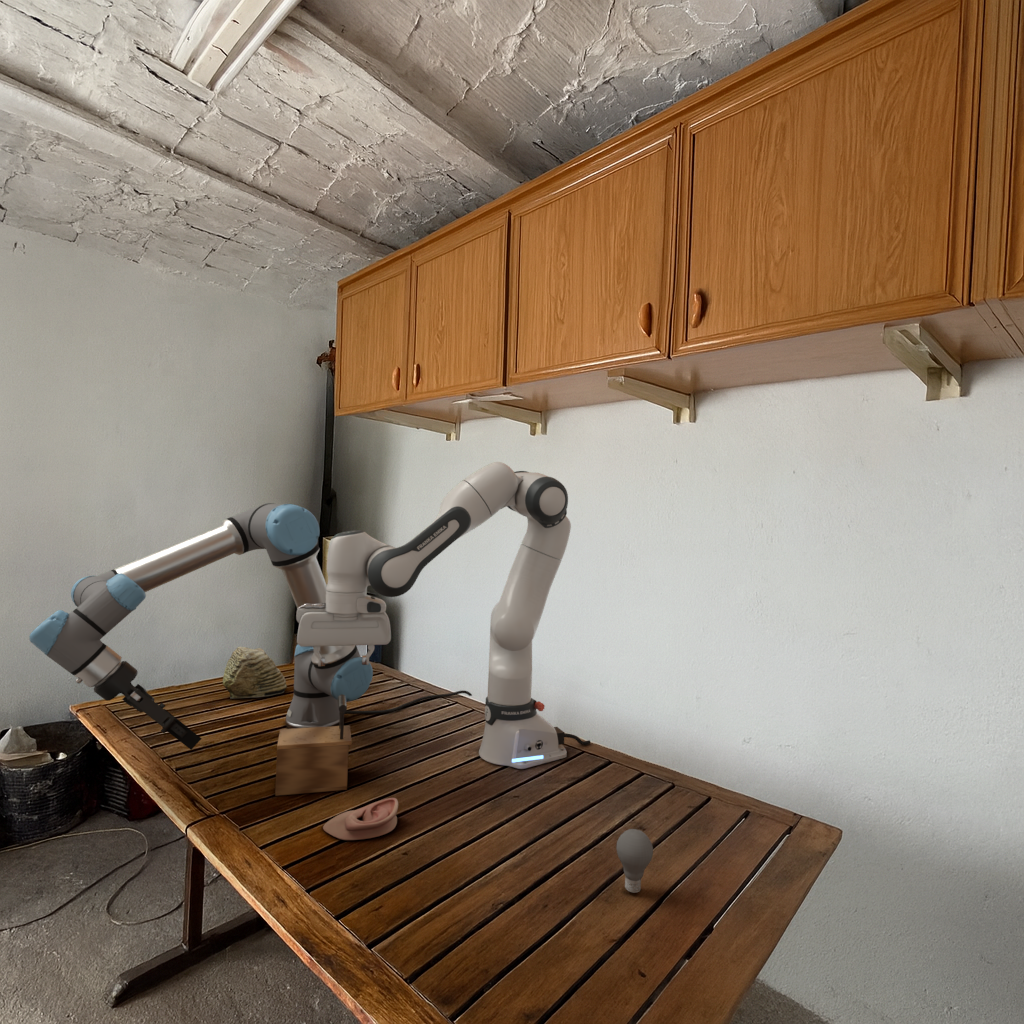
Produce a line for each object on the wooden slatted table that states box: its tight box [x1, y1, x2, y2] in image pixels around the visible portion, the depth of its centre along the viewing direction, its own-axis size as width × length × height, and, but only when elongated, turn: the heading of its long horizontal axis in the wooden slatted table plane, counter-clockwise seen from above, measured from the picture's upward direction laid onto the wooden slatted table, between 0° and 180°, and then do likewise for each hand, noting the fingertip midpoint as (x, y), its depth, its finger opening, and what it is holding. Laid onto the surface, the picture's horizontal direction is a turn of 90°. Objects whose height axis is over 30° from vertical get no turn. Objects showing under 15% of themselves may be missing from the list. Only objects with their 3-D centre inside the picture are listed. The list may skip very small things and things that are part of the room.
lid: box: [276, 694, 352, 750], centre depth 140 cm, size 15×10×8 cm, turn 107°
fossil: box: [222, 646, 288, 699], centre depth 198 cm, size 9×18×15 cm, turn 132°
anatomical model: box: [322, 797, 399, 841], centre depth 122 cm, size 13×4×12 cm
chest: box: [274, 745, 350, 797], centre depth 140 cm, size 15×10×10 cm, turn 107°
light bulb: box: [615, 828, 654, 894], centre depth 106 cm, size 6×6×10 cm
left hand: (189, 737), depth 134 cm, fingers open, 13 cm apart
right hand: (343, 664), depth 141 cm, fingers open, 8 cm apart
